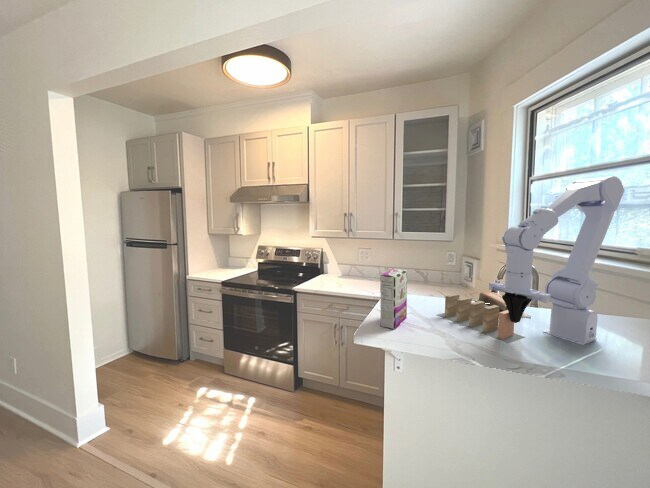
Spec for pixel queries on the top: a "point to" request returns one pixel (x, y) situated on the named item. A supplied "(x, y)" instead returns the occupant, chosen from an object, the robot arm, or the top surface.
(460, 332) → the top surface
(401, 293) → the candy bar box
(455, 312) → the domino
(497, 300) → the packaged product
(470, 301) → the domino
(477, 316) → the domino
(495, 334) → the slate mat
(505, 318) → the domino
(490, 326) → the light brown flat block
